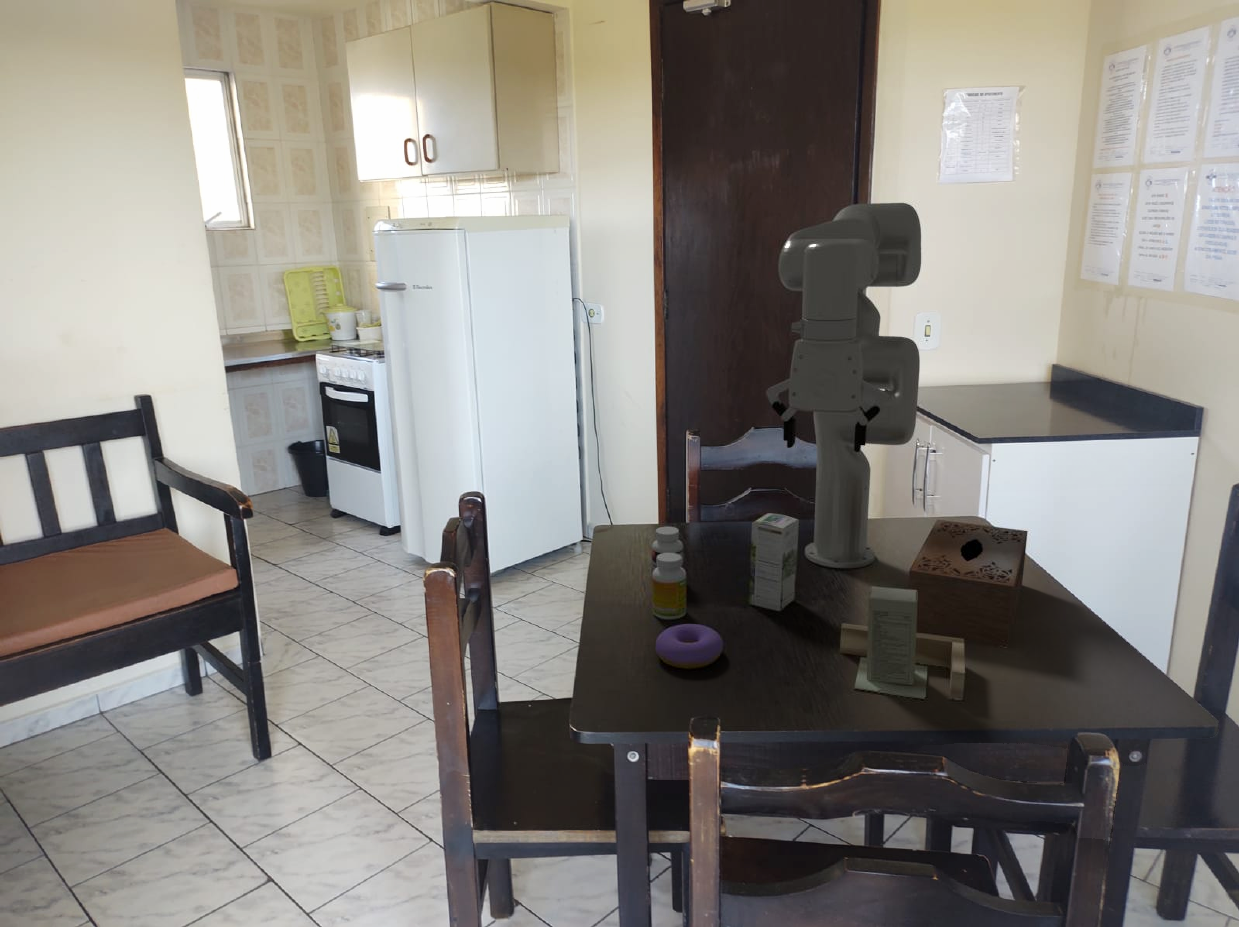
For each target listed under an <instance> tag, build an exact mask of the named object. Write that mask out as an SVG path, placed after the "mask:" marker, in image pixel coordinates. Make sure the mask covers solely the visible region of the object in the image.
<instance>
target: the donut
mask: <svg viewBox="0 0 1239 927" xmlns="http://www.w3.org/2000/svg"><path fill="white" fill-rule="evenodd" d="M723 649H724V642H723V640H722V636H721V635H720V634H719V633H718V632H717V631H715V630H714V629H713V628H711V627H708V626H706V625H702V624H696V623H684V624H677V625H673V626H670V627H668V628H666V629H664V630H663V631H662V632H661V633H660V634H659V635H658V636H657V638H656V640H655V652H656V654H657V655H658V657H659V659H660V660H662V662H664V663H665V664H666V665H669V666H672V667H674V668H679V669H687V670H689V669H690V670H691V669H701V668H703V667H706V666H708V665H711V664H712V663H715V661H717V660H718V658H719V657H720V656H721V653H722V652H723Z"/></svg>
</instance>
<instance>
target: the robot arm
mask: <svg viewBox="0 0 1239 927" xmlns="http://www.w3.org/2000/svg"><path fill="white" fill-rule="evenodd" d="M777 267H778V276H779V279H780V282H781V283H782V285H783V286H784V287H785V288H786V289H788V290H790V291H794V292H795V291H796V292H802V307H801V309H802V310H801V311H802V312H801V317H802V318H800V320H799V321H797V322H792V323H791V326H790V327H791V329H790V330H791V332H792V333H793V332H795V333H797V334H798V335H800V338H801V339H800V338H799V339H797V340H795V343H794V346H793V353H792V355H791V356H792V357H791V366H790V371H789V372H790V375H789V378H787V379H786V380H784V381H781V382H779V383H777V384H774V385H772V386H771V387H769V388H768V389H767V390H766V391H765V395H766V397H767V399H768V401H769V403H770V404H771V407H772V409H773V411H775V413H776V414H778V415H779V417H780V418H781V420H782V421H783V435H782V439H783V441H784V442H786V448H787V449H788V448H791V449H792V448H793V447H794V446H795V444H796V426H797V425H796V423H797V420H796V417H795V413H796V412H797V411H801V412H813V424H814V432H815V442H816V443H815V444H816V474H815V475H816V476H815V479H816V481H815V504H814V506H815V507H814V508H815V509H814V530H813V531H814V532H813V542H809V544H807V545H806V546H805V549H804V556H805V557H806V559H807V560H808V561H810V562H812V563H813V564H817V565H819V566H823V567H827V568H832V569H833V568H834V569H857V568H862V567H865V566H868V565H870V564H872V563H873V562H874V561H875V551H874V549H872V548H871V547H870V546H868V545H867V542H868V541H867V539H868V522H869V504H870V485H871V466H870V461H869V460H868V458H867V456H866V454H865V453H864V452H863V450H862V446H866V445H883V446H902V445H905V444H908V443H909V442H910V441H911V440H912V438H913V437H914V433H915V429H916V422H917V412H918V409H917V408H918V398H919V381H920V371H921V370H920V365H921V364H920V361H921V360H920V351H919V350H920V349H919V347H918V345H917V343H916V342H915V341H914V340H913V339H911V338H908V337H905V336H898V335H897V336H893V335H892V336H891V335H890V336H889V335H880V325H881V313H880V312H879V310H878V308H877V307H876V305H875V304H874V302H873V301H872V300H871V299H870V298H869V297H868V296H867V295H866V294H865V293H863V292H862V291H863V290H866V289H867V288H869V287H871V288H874V287H876V288H877V287H878V288H881V287H885V288H887V287H888V288H890V287H891V288H892V287H893V288H899V287H907V286H911V285H912V284H914V283H915V282H916V281H917V279H918V278H919V275H920V272H921V267H922V228H921V222H920V217H919V214H918V212H917V210H916V209H915V207H913V205H911V204H910V203H907V202H906V203H905V202H885V203H884V202H881V203H880V202H879V203H878V202H877V203H876V202H875V203H857V204H852V205H848V206H846V207H844V208H842V209H841V210H840V211H839V212H838V213H837V214H836V215H835V216H834V218H833V220H830V221H826V222H824V223H821V224H818V225H817V224H816V225H812V226H810V227H805V228H802V229H799V230H797V231H795V232H793V233H792V234H791V235H790V236H789V237H788V239H786V241H785V243H784V244H783V247H782V248H781V252H780V254H779V259H778V266H777ZM787 390H788V405H789V406H788V407H787V406H786V405H785V403H783V402H782V401H781V399H780V397H779V394H781V393H783V392H785V391H787Z"/></svg>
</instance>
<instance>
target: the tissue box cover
mask: <svg viewBox="0 0 1239 927" xmlns="http://www.w3.org/2000/svg"><path fill="white" fill-rule="evenodd" d="M1027 542H1028V530H1024V529H1015V528H1006V527H998V526H992V525H991V526H990V525H983V524H975V523H969V522H959V521H953V520H952V521H951V520H944V519H936V521H935V523H934V524H933V527H932V528H931V530H930V532H929V534H928V535H927V537H926V539H925V541H924V543H923V544H922V546H921V548H920V550H919V551H918V554H917V555H916V557H915V559H914V561H913V563H912V564H911V566H910V568H909V570H908V584H907V585H908V586H907V589H911V590H917V592H918V599H917V626H916V633H923V634H930V635H938V636H946V637H954V638H961V639H964V642H971V643H975V642H976V643H975V644H982V645H987V646H993V647H997V646H1000V647H999V648H1002V647H1007V648H1008V649H1009V645H1010V641H1011V637H1012V636H1011V635H1012V631H1013V628H1014V623H1015V618H1016V614H1017V609H1018V605H1019V602H1020V601H1019V600H1020V595H1021V592H1022V588H1023V579H1024V569H1025V561H1026V560H1025V559H1026V551H1027ZM1001 646H1002V647H1001ZM1007 648H1006V649H1007Z"/></svg>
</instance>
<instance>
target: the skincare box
mask: <svg viewBox="0 0 1239 927" xmlns="http://www.w3.org/2000/svg"><path fill="white" fill-rule="evenodd" d="M917 599H918V592H917V590H911V589H908V588H899V587H897V588H896V587H886V586H885V587H884V586H873V585H872V586H870V590H869V594H868V602H867V603H868V604H867V605H868V609H867V610H868V611H867V626H868V640H867V657H866V658H867V680H873V681H881V682H889V683H898V684H907V685H913V684H914V670H915V665H916V663H915V649H916V633H917V632H916V626H917Z"/></svg>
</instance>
